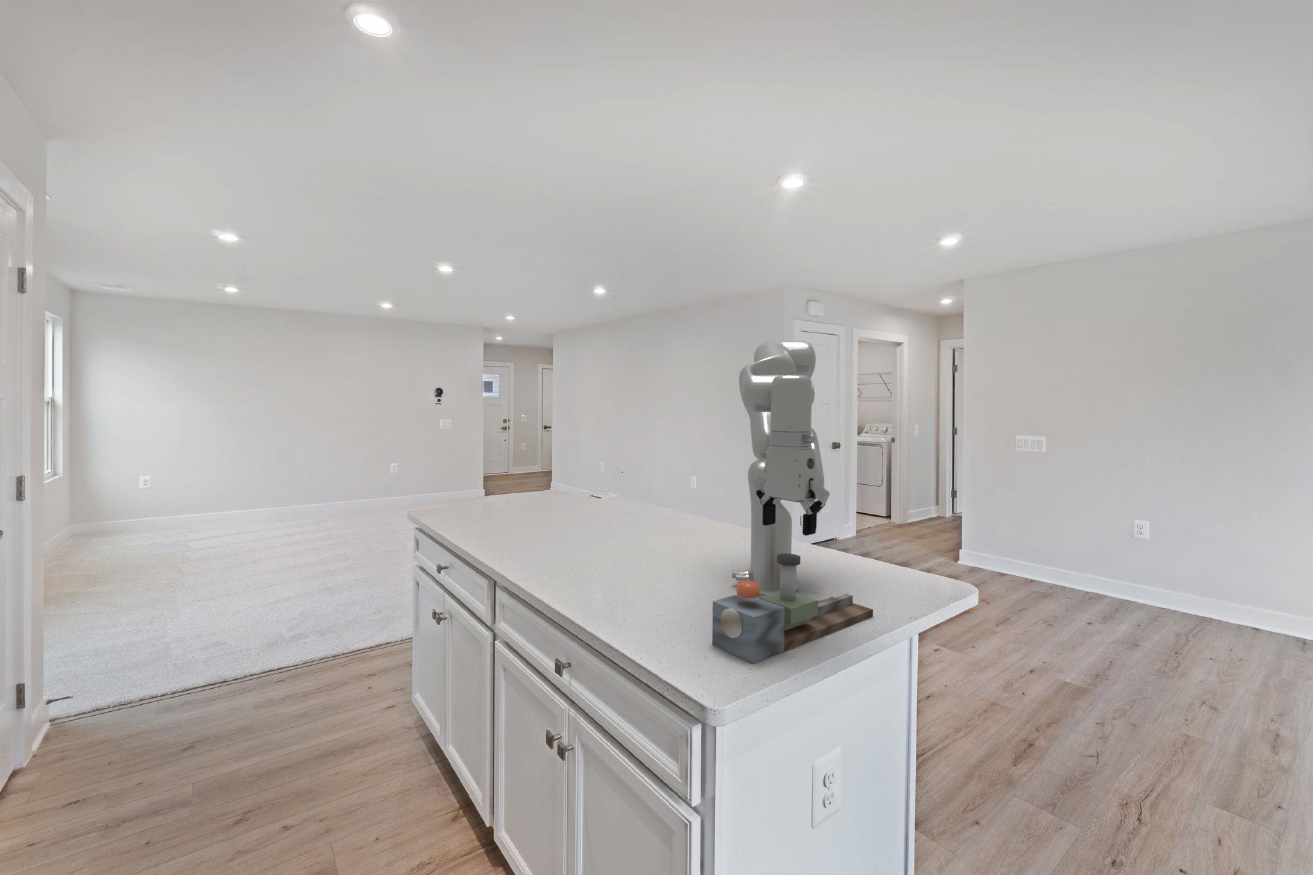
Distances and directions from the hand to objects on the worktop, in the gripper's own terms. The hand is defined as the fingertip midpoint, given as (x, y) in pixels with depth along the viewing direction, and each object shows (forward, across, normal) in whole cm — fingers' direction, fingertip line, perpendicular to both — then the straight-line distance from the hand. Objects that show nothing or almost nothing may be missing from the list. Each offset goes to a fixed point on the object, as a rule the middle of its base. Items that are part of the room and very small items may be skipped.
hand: (788, 529), depth 109 cm
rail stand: (+20, -1, -2) cm, 20 cm away
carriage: (+18, -1, +1) cm, 18 cm away
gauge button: (+10, -1, +12) cm, 15 cm away
